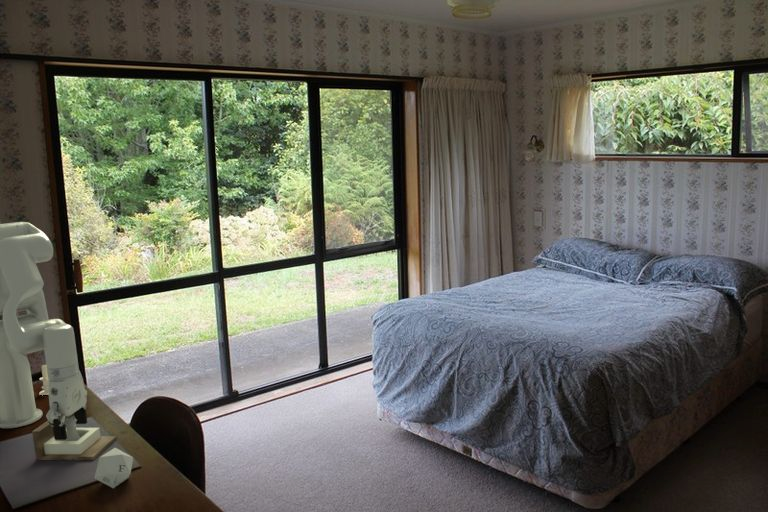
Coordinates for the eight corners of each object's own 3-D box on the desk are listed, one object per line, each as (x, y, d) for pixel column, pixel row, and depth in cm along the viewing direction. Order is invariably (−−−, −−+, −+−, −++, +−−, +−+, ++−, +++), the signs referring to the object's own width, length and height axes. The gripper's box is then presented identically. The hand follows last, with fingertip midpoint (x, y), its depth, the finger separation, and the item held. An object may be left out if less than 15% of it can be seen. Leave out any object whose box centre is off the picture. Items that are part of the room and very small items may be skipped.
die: (91, 496, 155) (107, 469, 152) (87, 466, 161) (102, 439, 157) (125, 495, 160) (141, 469, 157) (120, 466, 166) (135, 440, 163)
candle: (35, 395, 220) (31, 366, 218) (46, 390, 225) (41, 361, 223) (49, 396, 219) (45, 366, 218) (59, 390, 224) (55, 361, 223)
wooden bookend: (36, 459, 173) (32, 431, 172) (62, 439, 185) (58, 412, 184) (93, 460, 172) (89, 431, 170) (116, 439, 183) (113, 412, 182)
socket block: (45, 454, 174) (43, 444, 173) (66, 437, 184) (65, 427, 183) (80, 454, 173) (79, 444, 172) (100, 437, 183) (99, 427, 182)
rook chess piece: (75, 449, 176) (71, 421, 174) (60, 449, 177) (57, 421, 175) (86, 442, 180) (82, 414, 179) (71, 441, 181) (68, 414, 180)
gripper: (57, 382, 166) (66, 446, 169) (94, 359, 183) (101, 417, 186) (29, 382, 167) (38, 445, 169) (68, 360, 183) (76, 417, 186)
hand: (71, 431), depth 178 cm, fingers open, 9 cm apart
